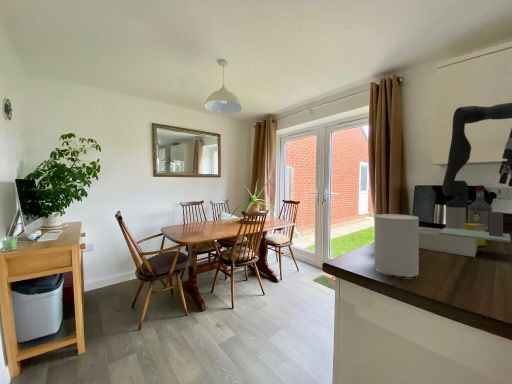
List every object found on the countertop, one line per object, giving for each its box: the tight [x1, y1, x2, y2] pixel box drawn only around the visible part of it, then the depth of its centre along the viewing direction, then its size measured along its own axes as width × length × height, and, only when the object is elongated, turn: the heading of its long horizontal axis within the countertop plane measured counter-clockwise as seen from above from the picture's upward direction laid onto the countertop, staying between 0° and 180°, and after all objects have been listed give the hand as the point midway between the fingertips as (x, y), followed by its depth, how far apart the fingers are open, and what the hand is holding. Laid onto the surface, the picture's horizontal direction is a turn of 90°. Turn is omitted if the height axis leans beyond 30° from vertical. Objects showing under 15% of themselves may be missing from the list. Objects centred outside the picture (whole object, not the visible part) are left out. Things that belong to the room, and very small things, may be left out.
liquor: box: [467, 184, 493, 232], centre depth 140 cm, size 9×9×30 cm
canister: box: [374, 213, 420, 277], centre depth 81 cm, size 14×14×20 cm
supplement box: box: [463, 222, 487, 248], centre depth 113 cm, size 6×6×11 cm
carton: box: [419, 226, 478, 258], centre depth 108 cm, size 22×16×8 cm
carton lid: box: [439, 211, 511, 243], centre depth 101 cm, size 22×16×11 cm
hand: (506, 185), depth 100 cm, fingers open, 8 cm apart
